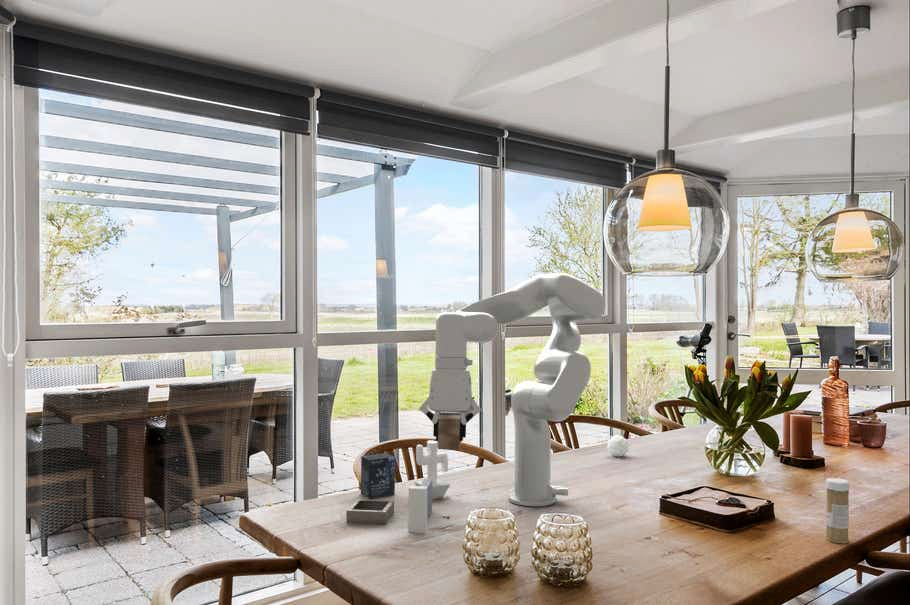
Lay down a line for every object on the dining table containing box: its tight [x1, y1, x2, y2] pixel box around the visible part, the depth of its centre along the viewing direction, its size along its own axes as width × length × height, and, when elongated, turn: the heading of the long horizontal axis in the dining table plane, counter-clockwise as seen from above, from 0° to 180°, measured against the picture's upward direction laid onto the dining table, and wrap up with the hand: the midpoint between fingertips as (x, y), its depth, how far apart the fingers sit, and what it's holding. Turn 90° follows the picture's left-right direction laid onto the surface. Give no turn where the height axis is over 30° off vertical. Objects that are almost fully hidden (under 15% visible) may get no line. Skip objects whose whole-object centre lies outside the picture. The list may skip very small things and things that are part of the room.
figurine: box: [413, 439, 451, 500], centre depth 183 cm, size 7×9×15 cm
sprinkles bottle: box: [825, 477, 851, 544], centre depth 150 cm, size 5×5×14 cm
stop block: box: [437, 412, 462, 451], centre depth 162 cm, size 5×5×8 cm
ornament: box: [606, 435, 630, 458], centre depth 233 cm, size 7×7×8 cm
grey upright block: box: [407, 478, 433, 534], centre depth 162 cm, size 4×16×10 cm, turn 173°
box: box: [360, 452, 396, 500], centre depth 185 cm, size 8×6×11 cm
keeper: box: [345, 498, 395, 526], centre depth 165 cm, size 10×10×3 cm
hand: (449, 439), depth 162 cm, fingers closed on stop block, 5 cm apart
